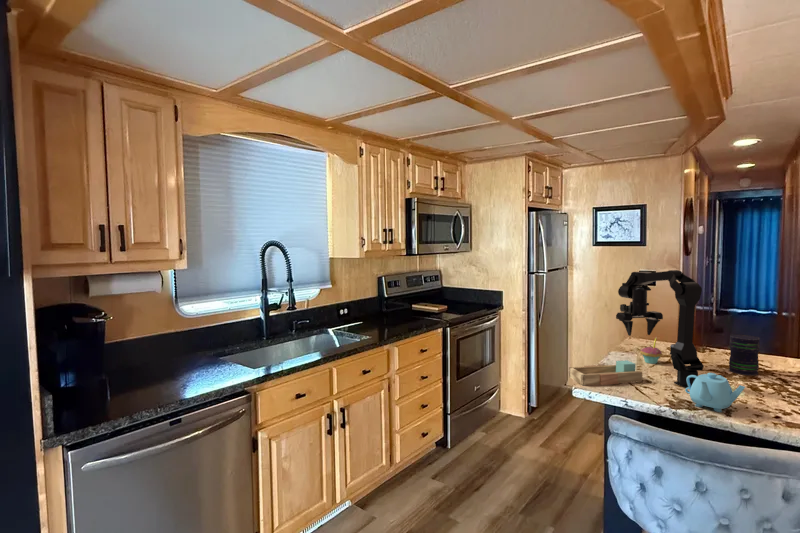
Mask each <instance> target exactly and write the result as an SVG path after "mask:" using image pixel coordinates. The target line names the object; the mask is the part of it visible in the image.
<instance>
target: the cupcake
mask: <svg viewBox="0 0 800 533" xmlns="http://www.w3.org/2000/svg"><path fill="white" fill-rule="evenodd" d="M657 338H658V337H655V338H654V341H653V346H645V347H643V348H641V349H640V352H639V354H640V355H642V357H643V359H644V362H645V363H646V364H652V365H654V364H658V361H659V359H660V358H661V357H662V356H663V352H662V351H661V349H659V348H658V347H656V342H657Z"/></svg>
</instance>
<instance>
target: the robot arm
mask: <svg viewBox="0 0 800 533" xmlns="http://www.w3.org/2000/svg"><path fill="white" fill-rule="evenodd" d="M663 281H664V282H665V281H668V282H669V287H670V288H671V289H672V291H674V297H675V300H676V302H677V303H678V304H679V305H678V323H677V325H678V326H677V340H676V342H675V343H671V344H670V348H669V349H670V352H669V355H670V359H671V362H672V366H673V369H675V370H676V371H677V372H676V381H673V383H674V384H675V385H678V386H680V387H683V388H685V389H686V388H687V387H688V384H687V381H686V379H687V377H688V376H690V375H696V376H699V371H703V369H704V366H705V365H704V364H703V363H702V361H701V360H700V359H699V357H698V352H697V348H696V346H695V345H694V344H695V343H694V342H693V340H694V339H693V338H694V325H695V324H694V323H695V310H696V305H697V303H698V302H700V299H701V296H702V293H703V290H702V286H701V285H700V284H699V283H698V282H697V281H696V280H695V279H693V278H691V277H689V276H688V275H686V274H684V272H682V271H681V270H679V269H674V270H673V269H672V270H670V269H669V270H666V271H655V272H651V271H632V272H631V273H630V275H629V277H628V279H627V280H626V282H622V283H621V284H622V285H620V287H619V288H618V290H617V292H618V295H619V297H621V298H624V299H629V300H630V299H631V301H630V302H629V305H627V304H625V303H624V304H620V305H619V309H620V311H619V312H617V313H616V315H615V318H616V320H618V321H619V322H621V323H622V324H623V325H624V328H625V330H626V333H627V335H628V336H629V337H631V336H632V332H633V324H634V320H633V319H645V320H646V326H647V327H646V333H647V335H648V336H650V335H651V334H652V332H653V331H654V329H655V327H656V326H657V324H658V323H659V322H661V320H663V319H664V315H663V313H662V312H660V311H654V310H651V311H650V310H649V311H648V306H650V302H648V291H652V288H650V287H649V286H648V284H652V283H653V282H663ZM695 379H696V378H694V377H691V378H690V379H689V381H690V384H691V386H692V384H693V382H694V380H695Z"/></svg>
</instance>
